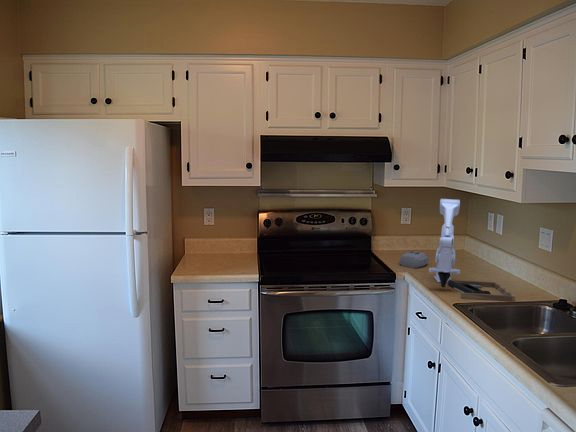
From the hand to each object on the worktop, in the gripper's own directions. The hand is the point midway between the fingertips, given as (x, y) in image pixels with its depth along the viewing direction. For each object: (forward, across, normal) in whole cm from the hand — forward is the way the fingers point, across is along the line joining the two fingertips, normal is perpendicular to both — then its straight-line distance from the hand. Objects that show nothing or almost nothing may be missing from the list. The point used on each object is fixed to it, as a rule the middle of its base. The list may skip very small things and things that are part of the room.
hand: (442, 286), depth 220 cm
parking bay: (+2, +18, 0) cm, 18 cm away
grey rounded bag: (+2, -4, +52) cm, 52 cm away
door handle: (+2, +14, +2) cm, 15 cm away
